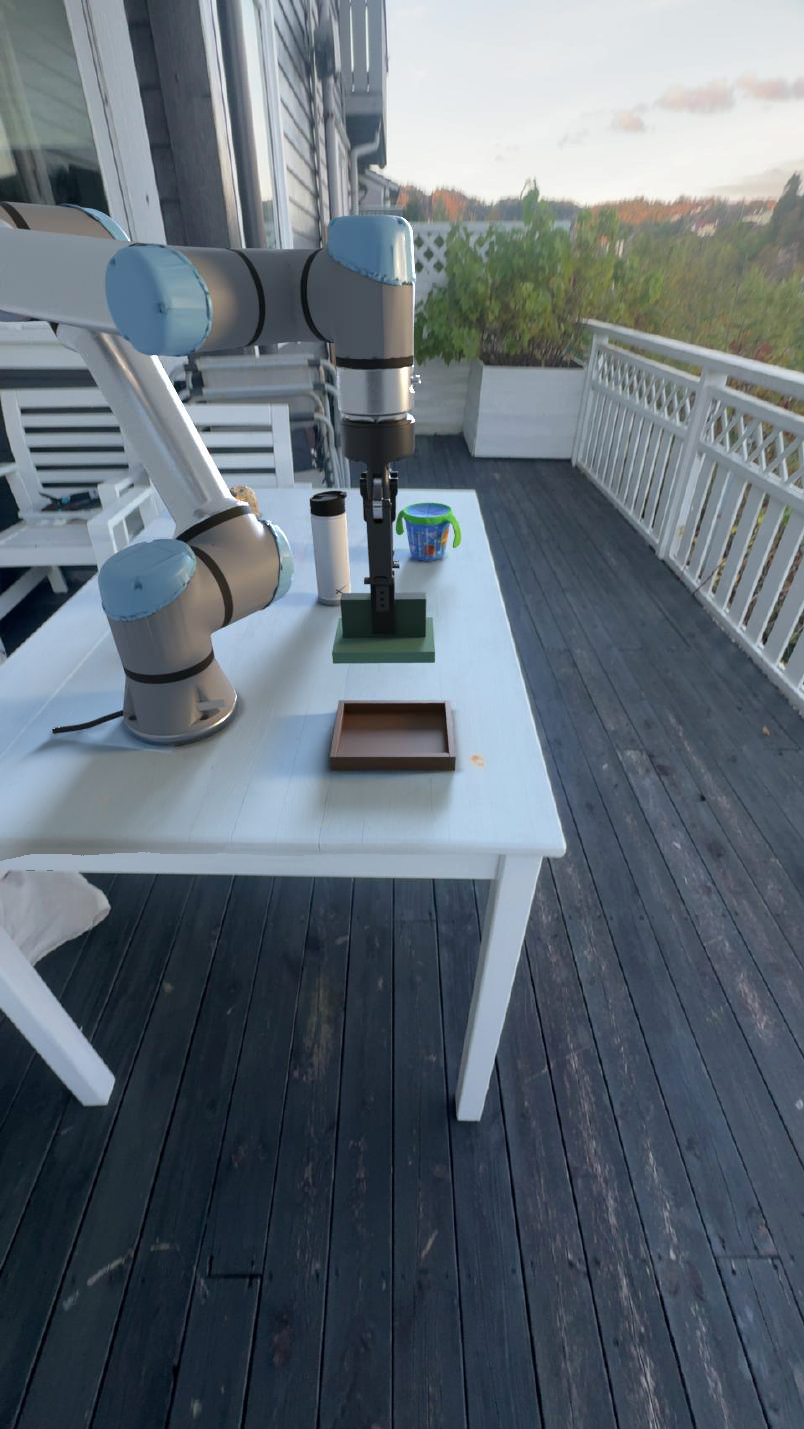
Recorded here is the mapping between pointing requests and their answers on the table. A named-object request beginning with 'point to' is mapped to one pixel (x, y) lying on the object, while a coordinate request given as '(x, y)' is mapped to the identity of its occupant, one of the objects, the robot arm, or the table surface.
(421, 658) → the back pad
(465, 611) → the table surface
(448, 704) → the back frame
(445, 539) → the snack cup
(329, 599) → the travel mug
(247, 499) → the sponge
